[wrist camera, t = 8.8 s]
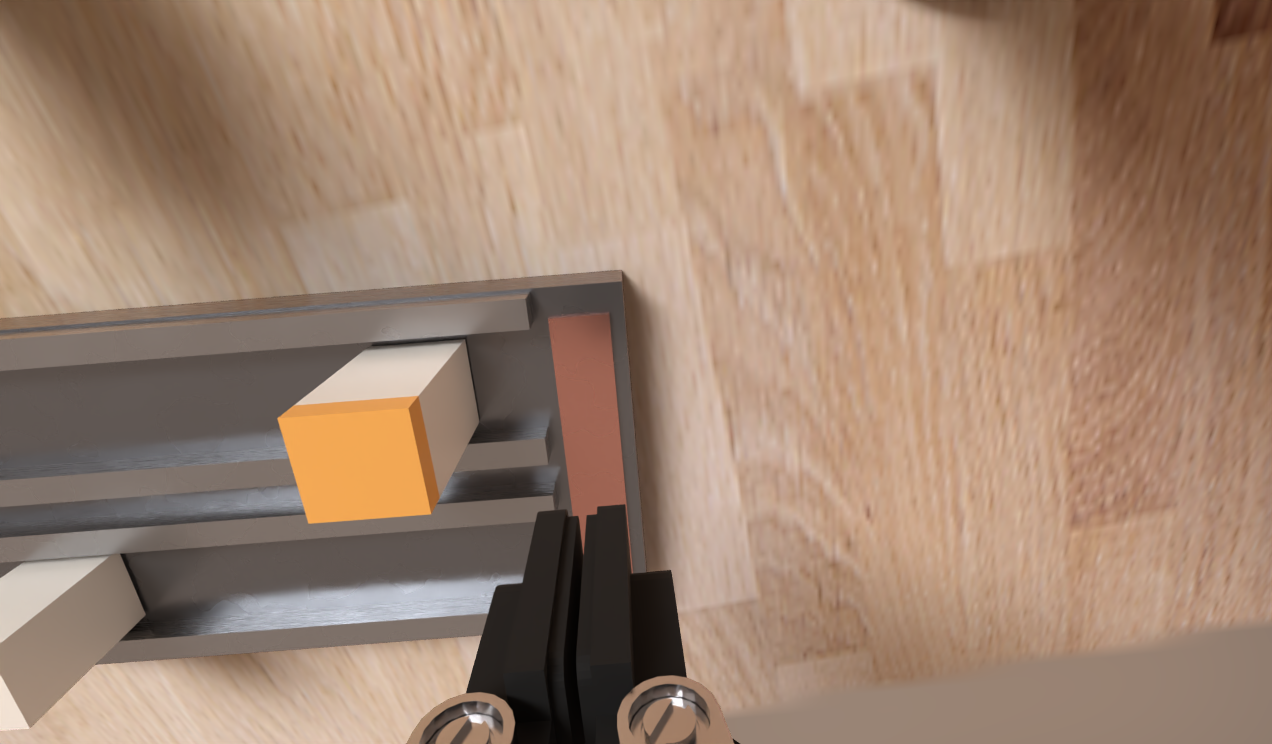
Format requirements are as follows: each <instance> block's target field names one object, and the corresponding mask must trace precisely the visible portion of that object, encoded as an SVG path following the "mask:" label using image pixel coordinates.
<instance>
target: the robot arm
mask: <svg viewBox="0 0 1272 744" xmlns="http://www.w3.org/2000/svg"><path fill="white" fill-rule="evenodd" d="M406 744H740V743H738V742H737V741H735V740H734V739H732V737H731V734H730V731H729V729H728V726H727V724H726V721H725V718H724V716H723V713H722V711H721V708H720V705H719V704H718V702H717V700H716V699H715V697H714V695H713V694H712V693H711V692H710V691H709V690H708V689H707V688H705V687H704V686H703V685H702V684H700V683H698V682H696V681H694V680H691V679H689V678H687V676H686V669H685V662H684V655H683V648H682V641H681V634H680V627H679V620H678V613H677V606H676V599H675V592H674V586H673V579H672V572H671V570H667V571H655V572H644V573H632V569H631V558H630V547H629V536H628V526H627V515H626V505H625V504H621V505H609V506H598V507H597V514H593V515H587V517H586V529H585V543H584V555H583V547H582V538H581V530H580V522H579V517H578V516H570V517H569V516H568V511H567V509H562V510H550V511H539V512H538V513H537V517H536V521H535V526H534V531H533V535H532V540H531V544H530V549H529V554H528V558H527V563H526V568H525V572H524V577H523V582H522V583H516V584H504V585H498V586H497V587H496V588H495V591H494V594H493V597H492V601H491V605H490V608H489V612H488V615H487V619H486V623H485V626H484V630H483V634H482V637H481V641H480V644H479V648H478V652H477V655H476V659H475V662H474V666H473V670H472V673H471V677H470V680H469V684H468V688H467V691H466V694H462V695H459V696H456V697H453V698H450V699H448V700H446V701H445V702H443V703H441V704H439V705H438V706H436V707H434V708H433V709H432V710H431V711H430V712H429V713H428V714H427V715H425V716H424V717H423V718H422V719H421V720H420V722H419V723H418V725H417V726H416V728H415V729H414V731H413V732H412V734H411V736H410V738H409V739H408V741H407V743H406Z"/></svg>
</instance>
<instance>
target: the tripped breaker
mask: <svg viewBox="0 0 1272 744" xmlns="http://www.w3.org/2000/svg"><path fill="white" fill-rule="evenodd" d="M277 419H278V422H279V426H280V429H281V432H282V436H283V439H284V442H285V446H286V449H287V453H288V456H289V459H290V463H291V466H292V469H293V473H294V476H295V480H296V483H297V486H298V490H299V493H300V496H301V500H302V503H303V507H304V510H305V513H306V517H307V520H308V523H309V524H312V523H325V522H338V521H351V520H364V519H377V518H390V517H403V516H416V515H429V514H432V512H433V510H434V508H435V506H436V504H437V502H438V501H439V499H440V497H441V495H442V493H443V491H444V489H445V487H446V485H447V483H448V481H449V479H450V477H451V476H452V474H453V472H454V470H455V468H456V466H457V464H458V462H459V460H460V458H461V456H462V454H463V452H464V451H465V449H466V447H467V445H468V443H469V441H470V439H471V437H472V435H473V433H474V431H475V429H476V427H477V426H478V424H479V416H478V411H477V405H476V399H475V394H474V388H473V382H472V377H471V371H470V365H469V359H468V354H467V348H466V342H465V339H462V340H449V341H436V342H423V343H411V344H398V345H385V346H372V347H368V348H366V349H365V350H364V351H363V352H361V353H360V354H359V355H358V356H356V357H355V358H354V359H352V360H351V361H350V362H349V363H347V364H346V365H345V366H344V367H342V368H341V369H340V370H338V371H337V372H336V373H335V374H333V375H332V376H331V377H329V378H328V379H327V380H326V381H324V382H323V383H322V384H321V385H319V386H318V387H317V388H315V389H314V390H313V391H312V392H310V393H309V394H308V395H306V396H305V397H304V398H303V399H301V400H300V401H299V402H298V403H296V404H295V405H294V406H292V407H291V408H290V409H289V410H287V411H286V412H285V413H284V414H282V415H281V416H280V417H278V418H277Z"/></svg>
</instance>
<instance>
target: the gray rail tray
mask: <svg viewBox="0 0 1272 744" xmlns="http://www.w3.org/2000/svg"><path fill="white" fill-rule="evenodd" d="M462 339H465V342H466V348H467V354H468V359H469V365H470V371H471V377H472V382H473V388H474V394H475V399H476V405H477V411H478V416H479V424H478V426H477V427H476V429H475V431H474V433H473V435H472V437H471V439H470V441H469V443H468V445H467V447H466V449H465V451H464V452H463V454H462V456H461V458H460V460H459V462H458V464H457V466H456V468H455V470H454V472H453V474H452V476H451V477H450V479H449V481H448V483H447V485H446V487H445V489H444V491H443V493H442V495H441V497H440V499H439V501H438V502H437V504H436V506H435V508H434V510H433V512H432V514H429V515H416V516H403V517H390V518H377V519H364V520H351V521H338V522H325V523H312V524H309V523H308V520H307V517H306V513H305V510H304V507H303V503H302V500H301V496H300V493H299V490H298V486H297V483H296V480H295V476H294V473H293V469H292V466H291V463H290V459H289V456H288V453H287V449H286V446H285V442H284V439H283V436H282V432H281V429H280V426H279V422H278V419H277V418H278V417H280V416H281V415H282V414H284V413H285V412H286V411H287V410H289V409H290V408H291V407H292V406H294V405H295V404H296V403H298V402H299V401H300V400H301V399H303V398H304V397H305V396H306V395H308V394H309V393H310V392H312V391H313V390H314V389H315V388H317V387H318V386H319V385H321V384H322V383H323V382H324V381H326V380H327V379H328V378H329V377H331V376H332V375H333V374H335V373H336V372H337V371H338V370H340V369H341V368H342V367H344V366H345V365H346V364H347V363H349V362H350V361H351V360H352V359H354V358H355V357H356V356H358V355H359V354H360V353H361V352H363V351H364V350H365V349H366V348H368V347H372V346H385V345H398V344H411V343H423V342H436V341H449V340H462ZM621 504H625V505H626V515H627V526H628V536H629V547H630V558H631V569H632V573H644V572H647V569H646V557H645V545H644V533H643V521H642V509H641V497H640V485H639V473H638V461H637V449H636V436H635V424H634V412H633V400H632V388H631V376H630V364H629V352H628V340H627V328H626V316H625V304H624V291H623V279H622V270H615V271H602V272H589V273H577V274H564V275H551V276H538V277H526V278H513V279H500V280H487V281H475V282H462V283H449V284H437V285H424V286H411V287H398V288H386V289H373V290H360V291H347V292H335V293H322V294H309V295H296V296H284V297H271V298H258V299H245V300H233V301H220V302H207V303H195V304H182V305H169V306H156V307H144V308H131V309H118V310H105V311H93V312H80V313H67V314H54V315H42V316H29V317H16V318H4V319H0V578H1V577H3V576H4V575H6V574H7V573H9V572H10V571H12V570H13V569H14V568H16V567H17V566H19V565H20V564H22V563H23V562H25V561H30V560H43V559H56V558H69V557H82V556H95V555H108V554H120V555H121V557H122V560H123V562H124V565H125V567H126V569H127V572H128V574H129V576H130V579H131V581H132V583H133V586H134V588H135V590H136V593H137V595H138V597H139V600H140V602H141V605H142V607H143V609H144V612H145V614H146V615H145V616H144V617H143V618H142V619H141V620H140V621H139V622H138V623H137V624H136V625H135V626H134V627H133V628H132V629H131V630H130V631H129V632H128V633H127V634H126V635H125V636H124V637H123V638H122V639H121V640H120V641H119V642H118V643H117V644H116V645H115V646H114V647H113V648H112V649H111V650H109V651H108V652H107V653H106V654H105V655H104V656H103V657H102V658H101V659H100V660H99V661H98V662H97V663H96V664H95V665H98V664H111V663H124V662H137V661H150V660H163V659H177V658H190V657H203V656H216V655H229V654H242V653H255V652H269V651H282V650H295V649H308V648H321V647H334V646H347V645H361V644H374V643H387V642H400V641H413V640H426V639H439V638H453V637H466V636H479V635H482V634H483V630H484V626H485V623H486V619H487V615H488V612H489V608H490V605H491V601H492V597H493V594H494V591H495V588H496V587H497V586H498V585H504V584H516V583H522V582H523V577H524V572H525V568H526V563H527V558H528V554H529V549H530V544H531V540H532V535H533V531H534V526H535V521H536V517H537V513H538V512H539V511H550V510H562V509H567V511H568V516H569V517H570V516H578V517H579V522H580V530H581V538H582V547H583V555H584V543H585V529H586V517H587V515H593V514H597V507H598V506H609V505H621Z"/></svg>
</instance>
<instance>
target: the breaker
mask: <svg viewBox="0 0 1272 744" xmlns="http://www.w3.org/2000/svg"><path fill="white" fill-rule="evenodd" d="M145 615H146V614H145V612H144V609H143V607H142V605H141V602H140V600H139V597H138V595H137V593H136V590H135V588H134V586H133V583H132V581H131V579H130V576H129V574H128V572H127V569H126V567H125V565H124V562H123V560H122V557H121V555H120V554H108V555H95V556H82V557H69V558H56V559H43V560H30V561H25V562H23V563H22V564H20V565H19V566H17V567H16V568H14V569H13V570H12V571H10V572H9V573H7V574H6V575H4V576H3V577H1V578H0V731H4V730H17V729H30V728H31V727H32V726H33V725H34V724H35V723H36V722H37V721H38V720H39V719H40V718H41V717H42V716H43V715H44V714H45V713H46V712H47V711H48V710H49V709H50V708H51V707H52V706H53V705H54V704H55V703H56V702H57V701H58V700H59V699H61V698H62V697H63V696H64V695H65V694H66V693H67V692H68V691H69V690H70V689H71V688H72V687H73V686H74V685H75V684H76V683H77V682H78V681H79V680H80V679H81V678H82V677H83V676H84V675H85V674H86V673H87V672H88V671H89V670H90V669H91V668H92V667H93V666H94V665H95V664H96V663H97V662H98V661H99V660H100V659H101V658H102V657H103V656H104V655H105V654H106V653H107V652H108V651H109V650H111V649H112V648H113V647H114V646H115V645H116V644H117V643H118V642H119V641H120V640H121V639H122V638H123V637H124V636H125V635H126V634H127V633H128V632H129V631H130V630H131V629H132V628H133V627H134V626H135V625H136V624H137V623H138V622H139V621H140V620H141V619H142V618H143V617H144V616H145Z"/></svg>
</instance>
